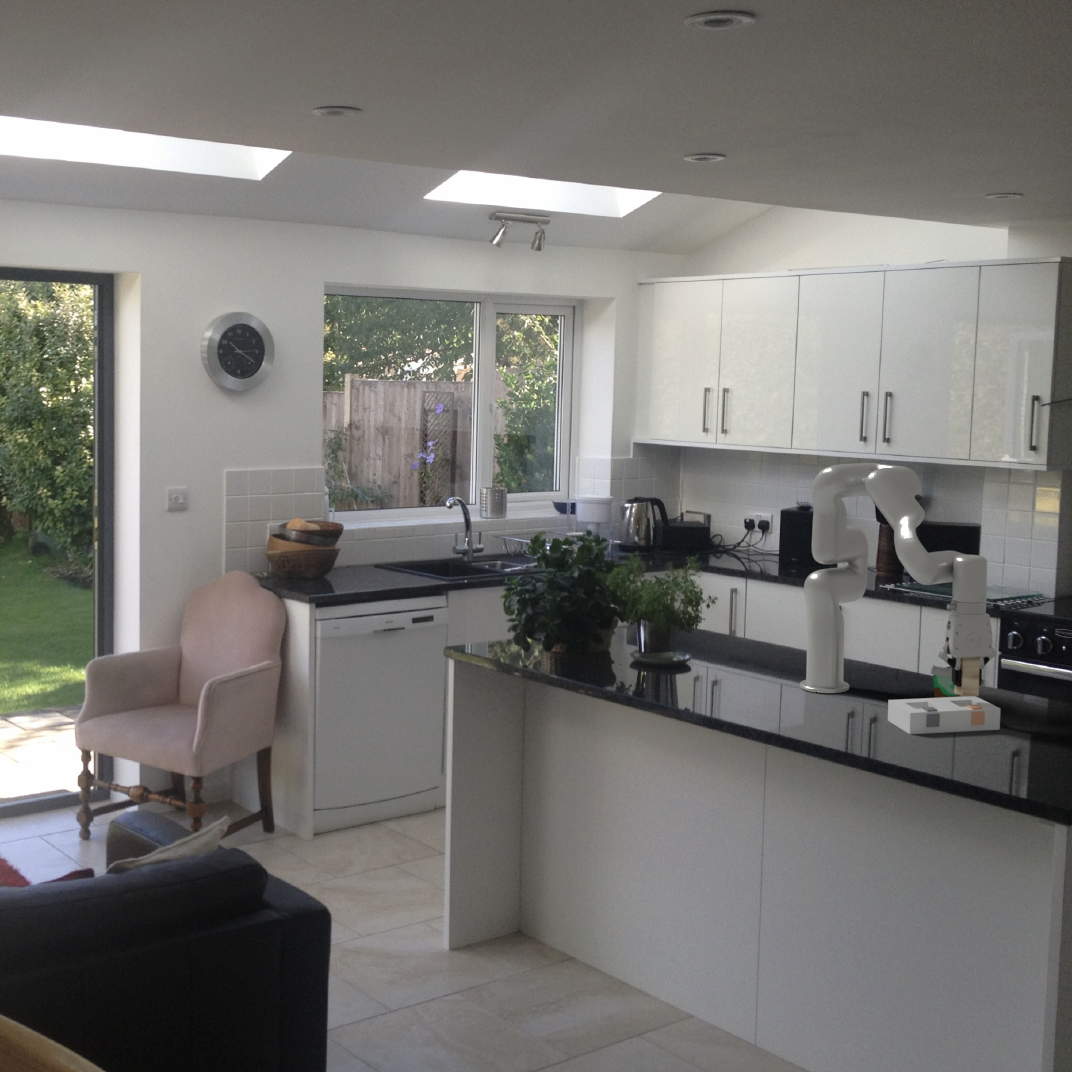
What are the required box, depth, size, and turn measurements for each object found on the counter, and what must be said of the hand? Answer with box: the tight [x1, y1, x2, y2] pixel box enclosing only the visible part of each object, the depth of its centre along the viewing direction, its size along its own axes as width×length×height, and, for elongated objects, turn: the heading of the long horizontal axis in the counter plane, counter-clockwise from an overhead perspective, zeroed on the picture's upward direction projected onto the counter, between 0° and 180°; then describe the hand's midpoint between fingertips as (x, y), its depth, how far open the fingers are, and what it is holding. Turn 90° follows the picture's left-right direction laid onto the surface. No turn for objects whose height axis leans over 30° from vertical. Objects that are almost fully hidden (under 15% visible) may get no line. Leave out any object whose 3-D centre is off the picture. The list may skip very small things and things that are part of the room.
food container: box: [930, 664, 964, 698], centre depth 316 cm, size 12×6×10 cm, turn 105°
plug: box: [954, 657, 980, 697], centre depth 298 cm, size 4×4×10 cm
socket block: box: [887, 696, 1001, 735], centre depth 298 cm, size 12×22×5 cm, turn 99°
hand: (966, 684), depth 298 cm, fingers closed on plug, 4 cm apart
